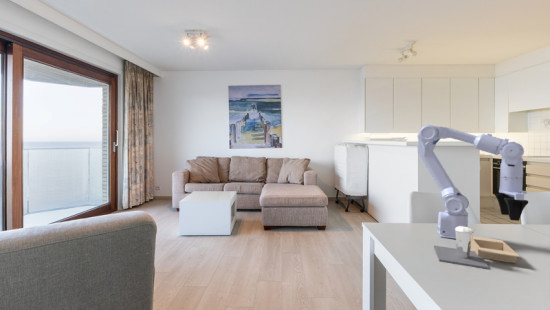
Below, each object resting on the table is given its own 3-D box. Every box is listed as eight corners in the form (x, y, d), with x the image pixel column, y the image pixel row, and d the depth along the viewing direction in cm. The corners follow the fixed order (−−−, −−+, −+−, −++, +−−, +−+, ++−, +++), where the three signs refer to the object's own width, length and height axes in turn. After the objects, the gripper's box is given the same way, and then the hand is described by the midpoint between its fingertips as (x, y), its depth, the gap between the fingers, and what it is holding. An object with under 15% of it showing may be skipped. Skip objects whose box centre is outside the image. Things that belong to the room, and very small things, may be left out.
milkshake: (471, 261, 77) (472, 228, 77) (451, 255, 82) (452, 223, 82) (478, 258, 80) (479, 225, 79) (458, 252, 84) (459, 221, 84)
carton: (480, 260, 80) (480, 250, 79) (468, 244, 92) (468, 235, 92) (519, 266, 76) (520, 256, 76) (501, 248, 89) (501, 240, 88)
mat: (439, 260, 79) (439, 259, 79) (433, 246, 90) (433, 245, 90) (489, 269, 74) (489, 267, 74) (477, 253, 85) (477, 251, 85)
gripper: (537, 180, 81) (535, 224, 81) (517, 175, 94) (516, 213, 95) (508, 179, 84) (506, 221, 84) (492, 175, 97) (491, 211, 98)
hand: (509, 217), depth 90 cm, fingers open, 7 cm apart
